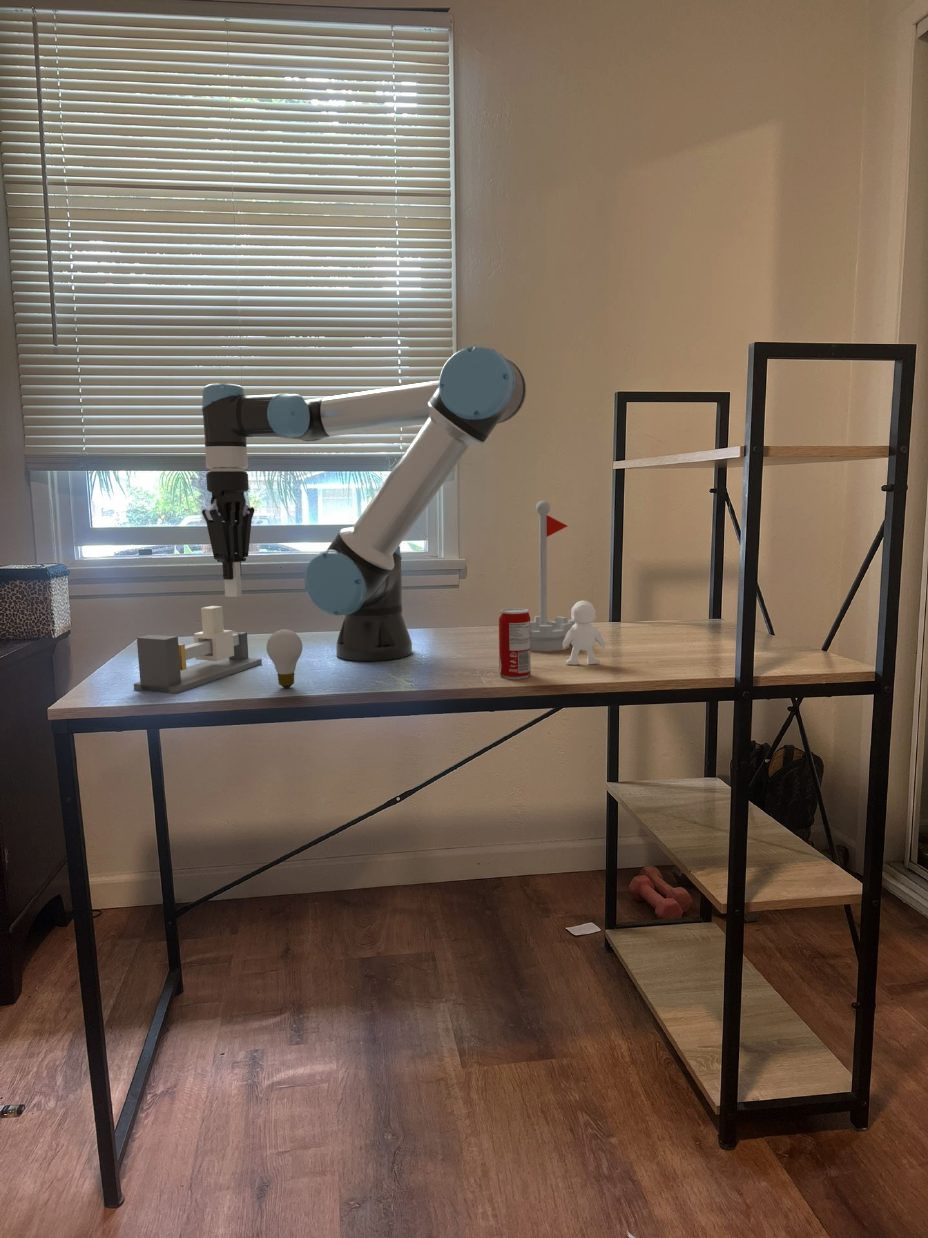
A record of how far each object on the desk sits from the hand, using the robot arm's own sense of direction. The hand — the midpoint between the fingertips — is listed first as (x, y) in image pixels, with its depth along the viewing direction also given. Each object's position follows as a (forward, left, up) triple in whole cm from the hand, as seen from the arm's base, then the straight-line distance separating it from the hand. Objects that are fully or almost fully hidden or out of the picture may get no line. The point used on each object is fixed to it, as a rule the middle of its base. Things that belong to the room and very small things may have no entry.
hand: (233, 596), depth 159 cm
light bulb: (-20, +14, -13) cm, 28 cm away
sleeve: (0, +7, -11) cm, 13 cm away
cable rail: (0, +11, -13) cm, 17 cm away
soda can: (-54, -6, -13) cm, 56 cm away
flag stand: (-51, -34, -13) cm, 63 cm away
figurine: (-63, -19, -13) cm, 68 cm away
